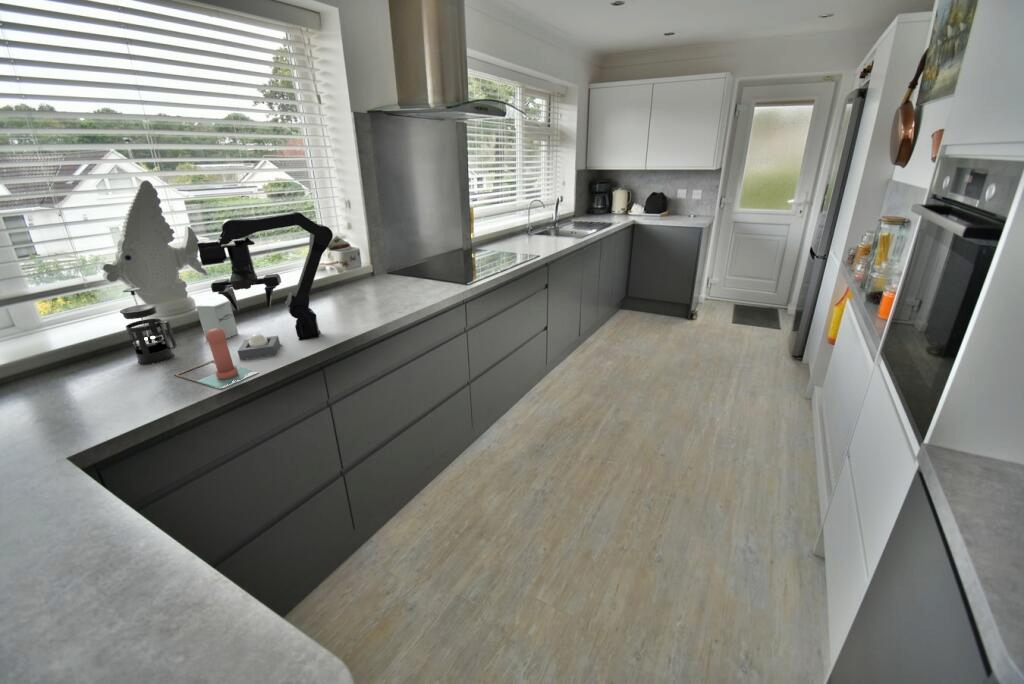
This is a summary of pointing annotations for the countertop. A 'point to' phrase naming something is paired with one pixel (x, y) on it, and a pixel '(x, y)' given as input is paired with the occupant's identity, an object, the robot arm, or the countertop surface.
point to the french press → (147, 352)
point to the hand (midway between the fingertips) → (253, 308)
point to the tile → (217, 383)
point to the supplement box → (217, 317)
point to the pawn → (221, 355)
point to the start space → (191, 369)
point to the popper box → (259, 348)
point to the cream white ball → (258, 340)
